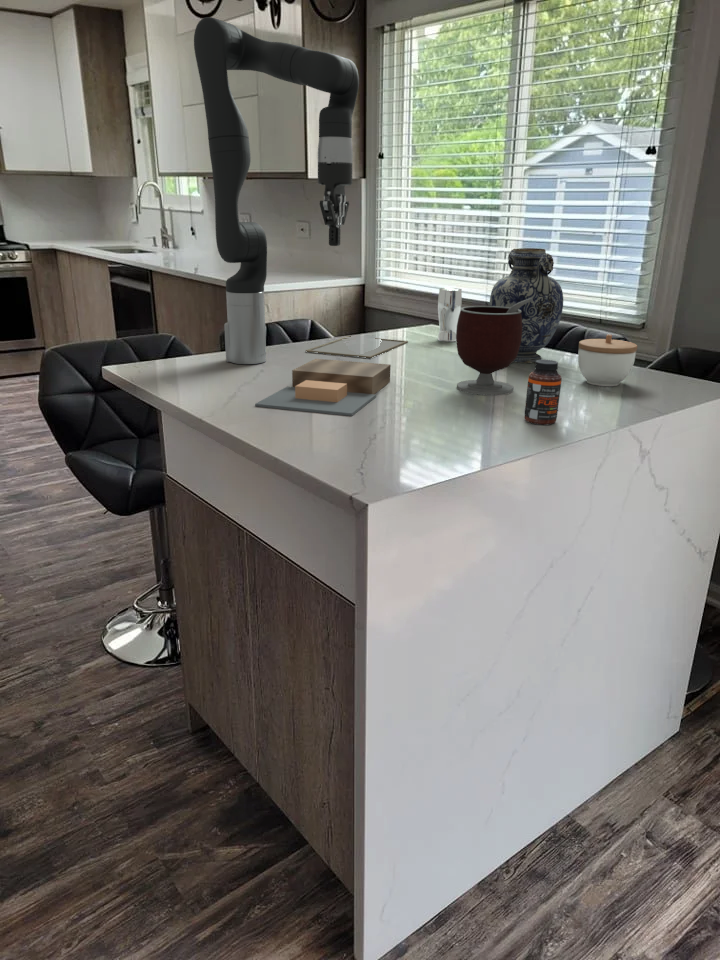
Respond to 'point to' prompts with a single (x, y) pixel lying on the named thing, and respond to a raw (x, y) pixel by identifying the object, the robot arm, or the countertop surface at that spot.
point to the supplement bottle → (543, 393)
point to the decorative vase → (526, 284)
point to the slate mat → (316, 402)
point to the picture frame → (341, 349)
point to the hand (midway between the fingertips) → (334, 245)
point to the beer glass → (448, 313)
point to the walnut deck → (345, 374)
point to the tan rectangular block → (321, 391)
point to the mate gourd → (488, 344)
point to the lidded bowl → (606, 360)
